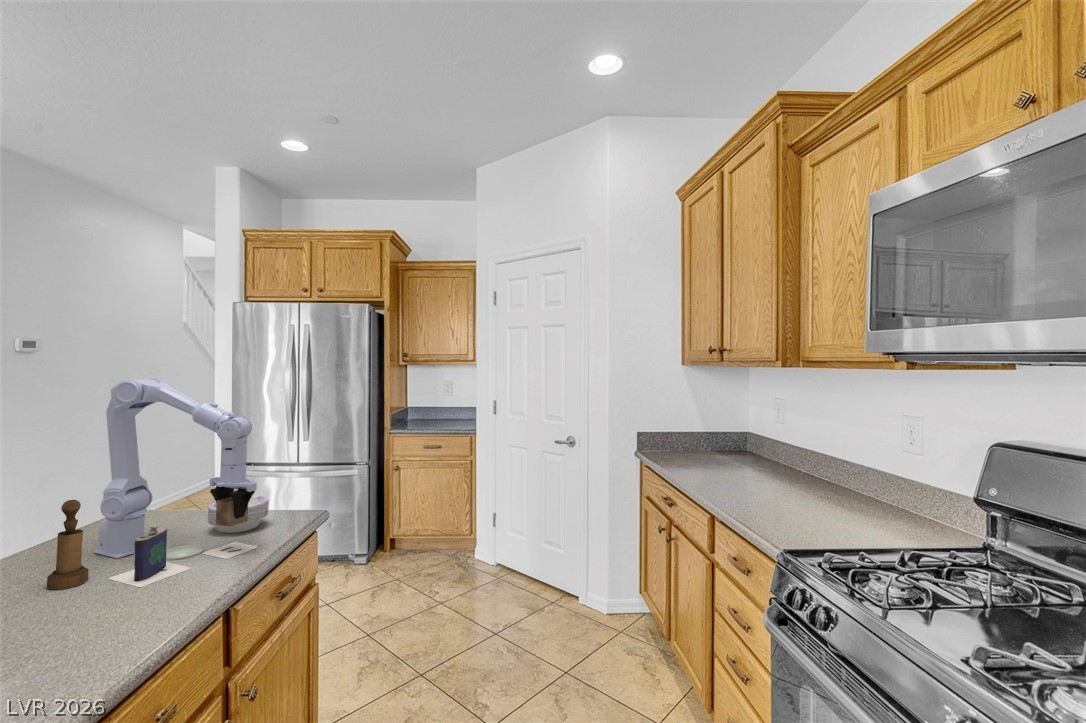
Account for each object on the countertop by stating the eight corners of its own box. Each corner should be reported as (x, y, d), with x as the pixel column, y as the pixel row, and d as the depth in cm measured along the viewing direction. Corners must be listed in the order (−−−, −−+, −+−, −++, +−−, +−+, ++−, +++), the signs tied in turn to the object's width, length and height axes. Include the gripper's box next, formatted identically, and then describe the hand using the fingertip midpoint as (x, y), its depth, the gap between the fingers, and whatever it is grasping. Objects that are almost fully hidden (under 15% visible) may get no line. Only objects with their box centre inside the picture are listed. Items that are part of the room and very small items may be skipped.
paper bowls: (204, 526, 144) (205, 499, 145) (262, 517, 154) (263, 492, 154) (210, 541, 133) (211, 511, 133) (272, 530, 142) (273, 503, 143)
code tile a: (107, 578, 108) (107, 578, 108) (161, 561, 119) (161, 560, 119) (139, 587, 104) (139, 587, 104) (192, 568, 115) (192, 567, 115)
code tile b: (201, 553, 124) (201, 553, 124) (234, 542, 132) (234, 541, 132) (226, 559, 121) (226, 558, 121) (258, 547, 129) (258, 546, 129)
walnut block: (215, 524, 125) (216, 500, 125) (233, 518, 130) (234, 496, 130) (229, 526, 123) (230, 502, 123) (247, 521, 128) (248, 498, 128)
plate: (152, 556, 121) (152, 554, 121) (189, 544, 130) (189, 542, 130) (176, 562, 118) (176, 559, 118) (212, 549, 127) (212, 547, 127)
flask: (157, 565, 116) (159, 519, 116) (170, 564, 116) (172, 519, 116) (130, 582, 107) (132, 533, 107) (144, 581, 107) (146, 532, 107)
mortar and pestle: (95, 580, 108) (98, 498, 108) (58, 592, 101) (62, 505, 102) (76, 575, 110) (79, 495, 110) (39, 587, 104) (42, 502, 104)
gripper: (198, 463, 126) (197, 516, 125) (239, 469, 121) (237, 524, 120) (225, 459, 132) (223, 509, 132) (264, 464, 127) (262, 516, 127)
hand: (231, 516), depth 127 cm, fingers closed on walnut block, 5 cm apart
